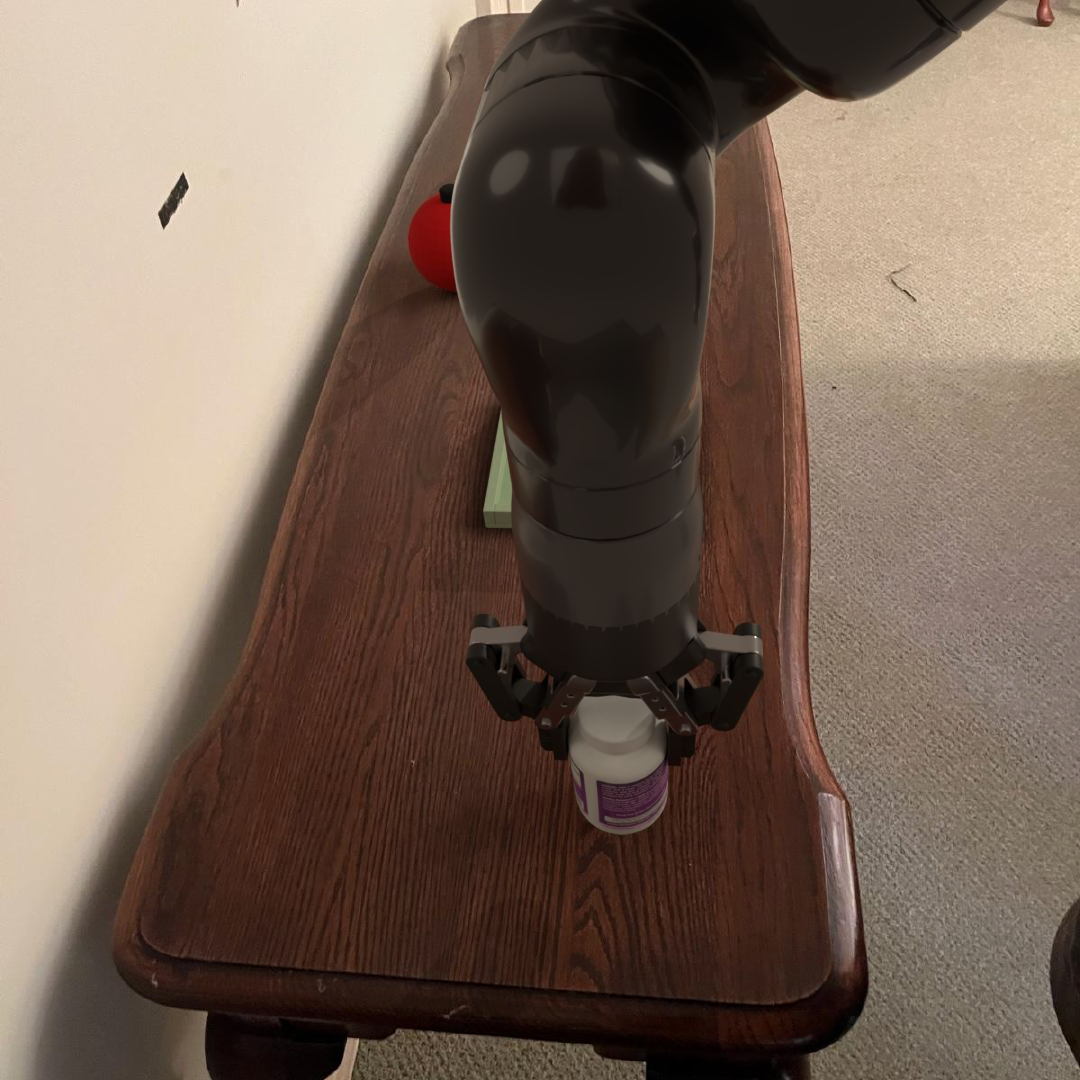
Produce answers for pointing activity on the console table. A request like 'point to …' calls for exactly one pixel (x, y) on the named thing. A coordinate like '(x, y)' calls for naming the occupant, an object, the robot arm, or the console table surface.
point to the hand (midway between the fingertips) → (618, 747)
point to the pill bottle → (618, 763)
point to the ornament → (433, 240)
